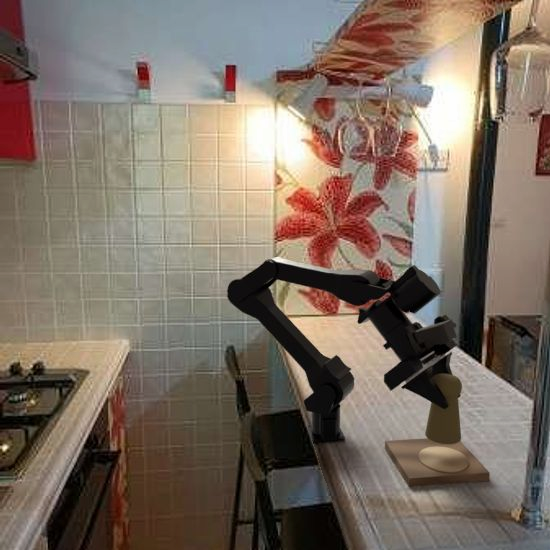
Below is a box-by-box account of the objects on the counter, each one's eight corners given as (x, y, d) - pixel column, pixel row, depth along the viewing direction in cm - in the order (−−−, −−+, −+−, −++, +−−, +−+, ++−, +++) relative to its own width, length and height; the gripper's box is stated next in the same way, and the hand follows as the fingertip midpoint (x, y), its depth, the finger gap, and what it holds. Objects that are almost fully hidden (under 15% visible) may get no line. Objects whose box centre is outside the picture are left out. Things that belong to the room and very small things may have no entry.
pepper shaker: (453, 427, 97) (457, 369, 95) (466, 444, 91) (470, 382, 89) (420, 428, 97) (423, 370, 95) (431, 444, 91) (434, 383, 89)
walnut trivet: (384, 448, 102) (385, 439, 102) (455, 443, 104) (456, 434, 103) (408, 486, 90) (409, 476, 89) (489, 480, 91) (489, 470, 91)
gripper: (403, 313, 85) (469, 397, 81) (448, 293, 100) (506, 363, 95) (359, 351, 92) (417, 430, 87) (407, 327, 106) (459, 394, 101)
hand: (452, 402), depth 92 cm, fingers closed on pepper shaker, 5 cm apart
